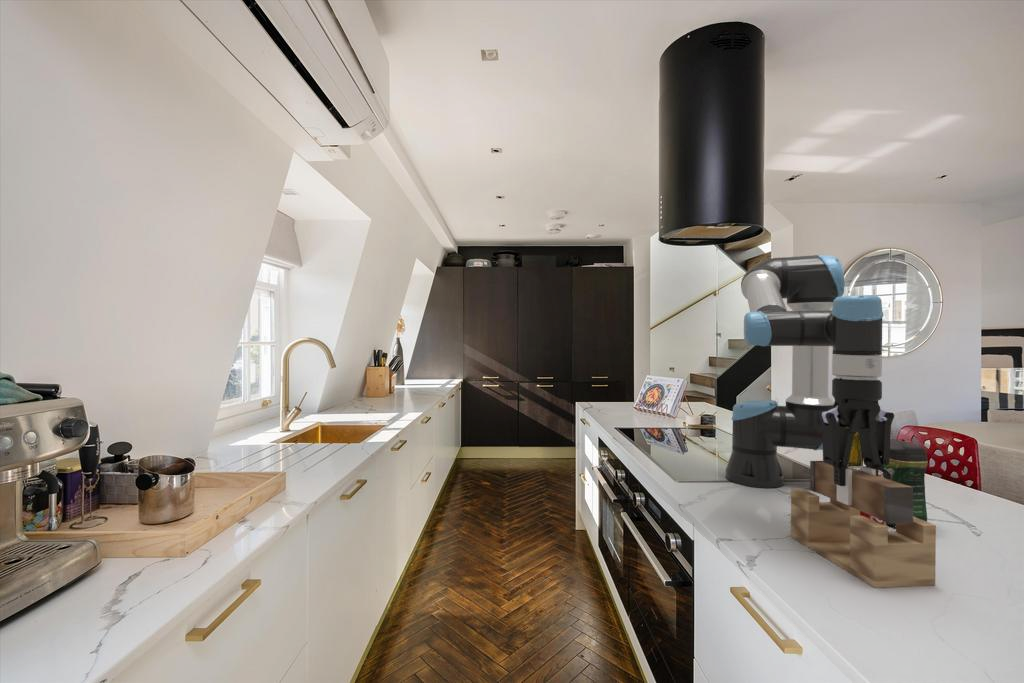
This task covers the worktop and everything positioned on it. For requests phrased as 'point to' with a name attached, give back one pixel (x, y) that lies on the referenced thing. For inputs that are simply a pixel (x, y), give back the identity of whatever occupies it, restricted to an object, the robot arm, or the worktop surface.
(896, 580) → the wooden notched cradle stand
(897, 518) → the rail
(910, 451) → the coffee jar
